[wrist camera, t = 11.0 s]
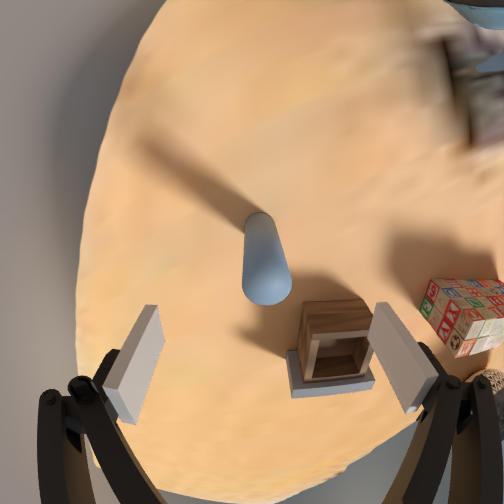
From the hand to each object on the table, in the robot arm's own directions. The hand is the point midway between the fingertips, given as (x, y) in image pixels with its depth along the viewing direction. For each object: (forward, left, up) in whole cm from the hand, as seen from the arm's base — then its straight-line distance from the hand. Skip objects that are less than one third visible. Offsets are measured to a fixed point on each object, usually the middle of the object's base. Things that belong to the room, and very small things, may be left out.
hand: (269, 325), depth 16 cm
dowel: (0, 0, -19) cm, 19 cm away
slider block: (+15, +11, -19) cm, 26 cm away
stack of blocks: (+11, +37, -19) cm, 43 cm away
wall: (+20, +11, -19) cm, 30 cm away
